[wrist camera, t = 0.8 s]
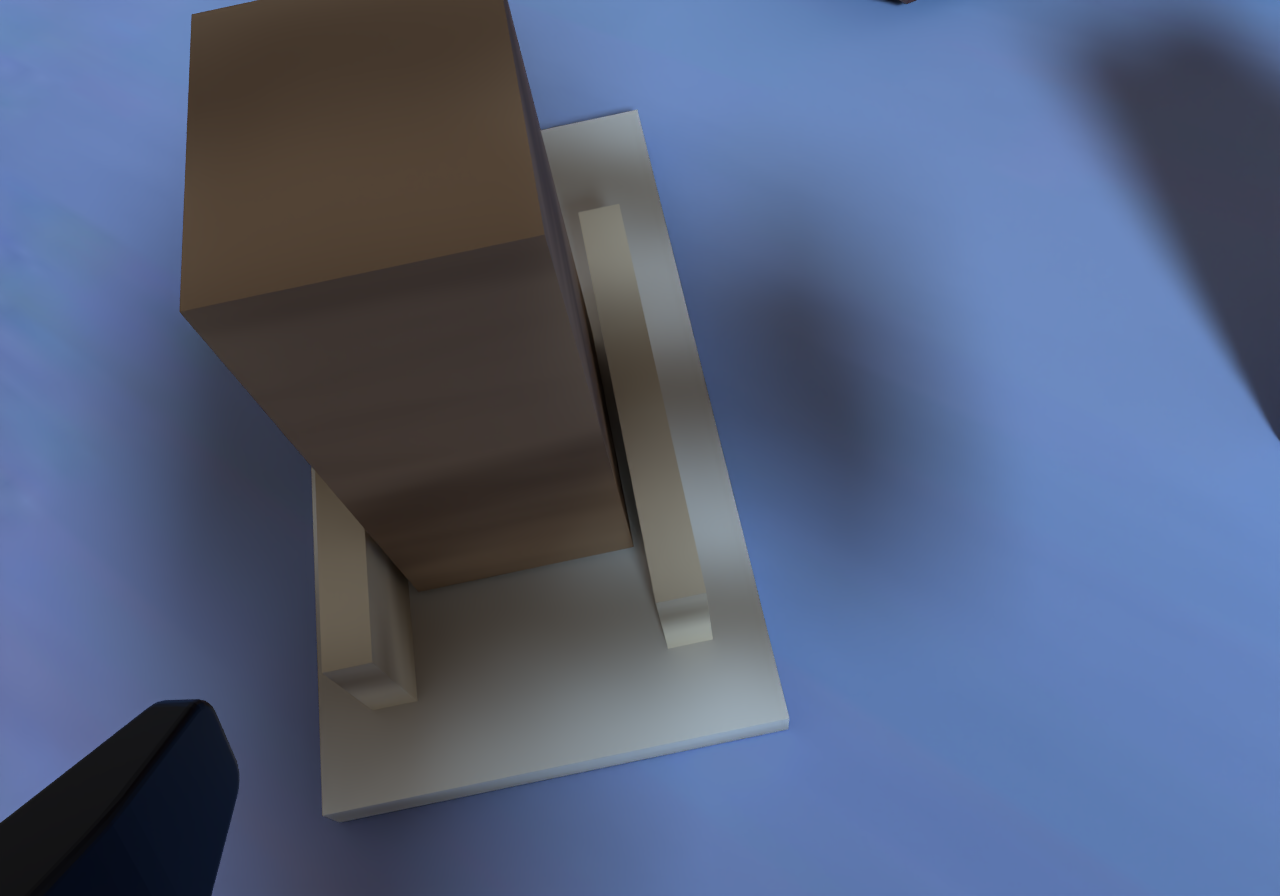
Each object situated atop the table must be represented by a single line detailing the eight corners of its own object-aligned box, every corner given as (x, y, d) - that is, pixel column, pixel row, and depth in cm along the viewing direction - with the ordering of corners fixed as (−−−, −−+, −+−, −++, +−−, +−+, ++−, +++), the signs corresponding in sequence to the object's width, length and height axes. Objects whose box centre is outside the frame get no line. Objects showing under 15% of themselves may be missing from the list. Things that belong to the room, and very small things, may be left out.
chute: (788, 729, 23) (793, 680, 19) (339, 822, 23) (261, 791, 19) (640, 134, 31) (625, 25, 28) (315, 203, 31) (258, 103, 28)
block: (633, 546, 24) (544, 234, 14) (418, 591, 24) (179, 312, 14) (592, 332, 26) (494, -50, 17) (400, 373, 26) (191, 14, 17)
